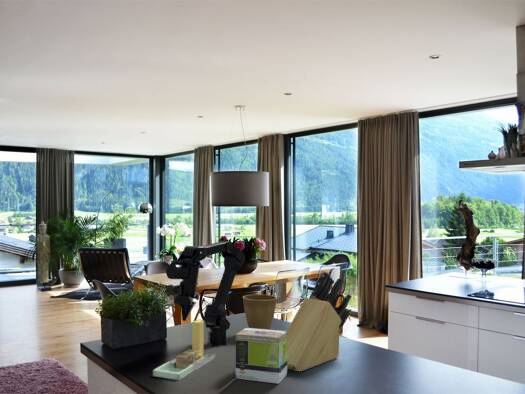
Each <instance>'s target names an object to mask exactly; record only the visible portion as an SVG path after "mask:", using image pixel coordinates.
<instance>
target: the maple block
mask: <svg viewBox="0 0 525 394" xmlns="http://www.w3.org/2000/svg"><path fill="white" fill-rule="evenodd" d="M182 353H188V354H192V363H193V362H195V361H196V360H198V359H199V350H192V348H191V349H190V348H189V349H187V350H186V349H185V351H183V352H182Z"/></svg>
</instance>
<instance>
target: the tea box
mask: <svg viewBox="0 0 525 394" xmlns="http://www.w3.org/2000/svg"><path fill="white" fill-rule="evenodd" d="M286 376H288V368H287V330H278V329H269V330H268V329H255V328H249V327H245V328H244V329H242V330H240V331H239V332H237V333H236V334H235V379H237V380H239V379H240V380H247V381H255V382H261V383H262V382H263V383H269V384H270V383H271V384H280V383H281V382H282V381H283V379H284V378H285V377H286Z"/></svg>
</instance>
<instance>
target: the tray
mask: <svg viewBox="0 0 525 394" xmlns="http://www.w3.org/2000/svg"><path fill="white" fill-rule="evenodd" d="M193 372H194V365H191V366H189V367H187V368H186V369H180V368H173V367H171V362H170V361H167V362H165V363H163V364H161V365H159V366H157V367H156V368H154V369H152V377H157V378H163V379H168V380H169V379H170V380H177V381H179V380H182V379H183V378H185V377H186V376H188V375H189V374H191V373H193Z"/></svg>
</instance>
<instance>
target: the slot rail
mask: <svg viewBox="0 0 525 394" xmlns="http://www.w3.org/2000/svg"><path fill="white" fill-rule="evenodd" d="M215 358H216V353H215V352H209V353H206V354H205V355H203V357H201V358H200V359H198V360H196V361H195V362H193V363H191V364H190V365H188V367H189V366H191V365H194V371H196V370H198V369H199V368H201V367H203V366H204V365H206V364H207V363H209V362H211V361H212V360H215ZM169 362H171V367H173V368H176V357H175V358H174V359H172V360H170V361H169ZM194 371H193V372H194Z"/></svg>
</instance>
